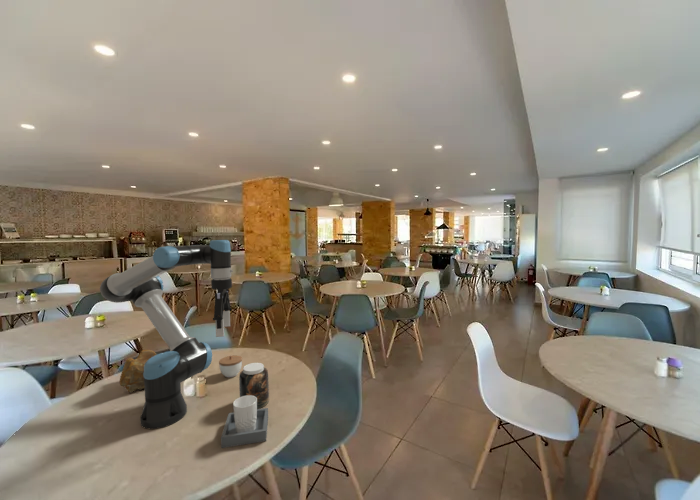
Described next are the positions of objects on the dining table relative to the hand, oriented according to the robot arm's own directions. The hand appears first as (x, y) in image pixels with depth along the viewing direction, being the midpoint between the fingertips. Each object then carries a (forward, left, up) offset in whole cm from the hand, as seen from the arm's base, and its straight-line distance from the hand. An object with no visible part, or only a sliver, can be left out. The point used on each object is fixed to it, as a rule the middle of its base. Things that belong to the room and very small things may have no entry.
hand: (223, 331), depth 121 cm
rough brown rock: (-40, +29, -31) cm, 58 cm away
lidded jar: (-3, +30, -31) cm, 43 cm away
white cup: (+10, -19, -30) cm, 37 cm away
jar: (+11, 0, -31) cm, 33 cm away
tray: (+10, -19, -31) cm, 37 cm away
